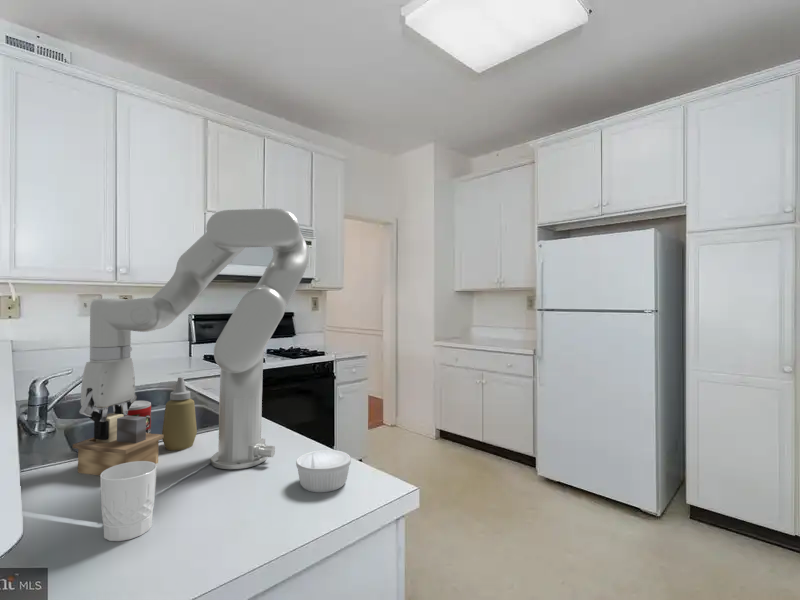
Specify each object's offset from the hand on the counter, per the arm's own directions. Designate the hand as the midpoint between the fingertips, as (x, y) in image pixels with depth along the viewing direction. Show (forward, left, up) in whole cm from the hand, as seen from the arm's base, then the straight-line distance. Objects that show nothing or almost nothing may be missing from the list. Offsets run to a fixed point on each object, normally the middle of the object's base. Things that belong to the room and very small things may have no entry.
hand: (109, 435), depth 95 cm
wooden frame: (-3, 0, -1) cm, 3 cm away
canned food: (+6, -13, -8) cm, 16 cm away
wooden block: (0, 0, -7) cm, 7 cm away
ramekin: (-49, -5, -8) cm, 50 cm away
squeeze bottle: (-6, -15, -8) cm, 18 cm away
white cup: (-25, +20, -8) cm, 33 cm away
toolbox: (-3, 0, -7) cm, 8 cm away
